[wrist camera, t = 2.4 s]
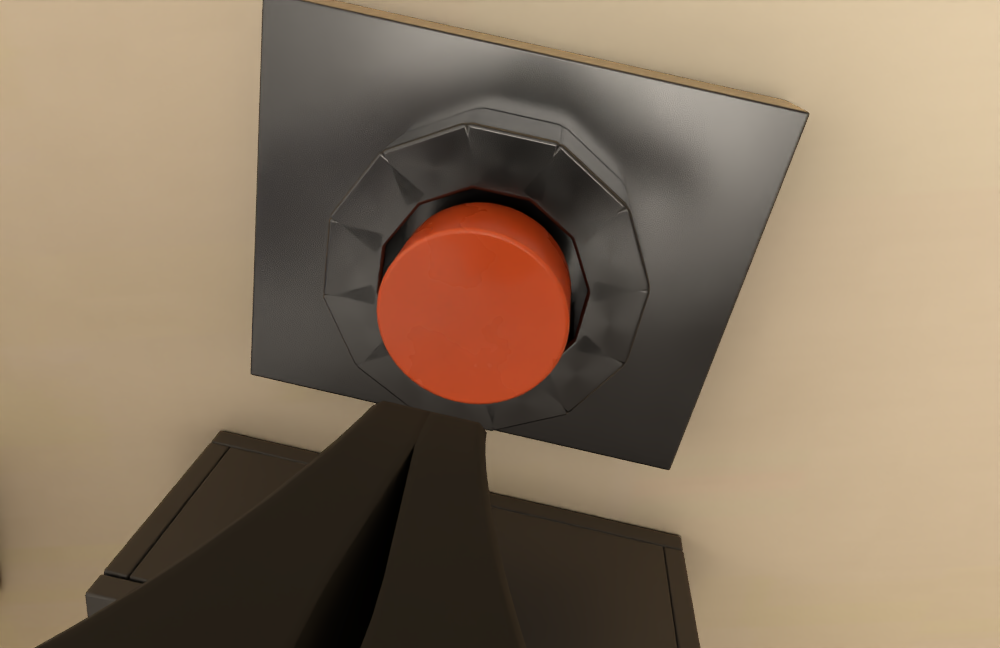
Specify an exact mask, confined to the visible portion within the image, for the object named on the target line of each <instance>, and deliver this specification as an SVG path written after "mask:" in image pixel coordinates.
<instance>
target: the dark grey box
mask: <svg viewBox="0 0 1000 648" xmlns="http://www.w3.org/2000/svg"><path fill="white" fill-rule="evenodd" d="M319 454H320V453H316V452H311V451H307V450H303V449H298V448H294V447H289V446H285V445H281V444H276V443H272V442H268V441H263V440H259V439H255V438H250V437H246V436H242V435H237V434H233V433H229V432H224V431H220V432H219V433H218V434H217V435H216V437H215V438H214V439H213V440H212V443H210V444H209V445H208V446H207V448H206V449H205V450H204V451H203V452H202V454H201V455H200V456H199V457H198V458H197V460H196V461H195V462H194V463H193V464H192V466H191V467H190V468H189V469H188V470H187V472H186V473H185V474H184V475H183V476H182V478H181V479H180V480H179V481H178V482H177V484H176V485H175V486H174V487H173V488H172V490H171V491H170V492H169V493H168V494H167V496H166V497H165V498H164V499H163V501H162V502H161V503H160V504H159V505H158V507H157V508H156V509H155V510H154V511H153V513H152V514H151V515H150V516H149V517H148V519H147V520H146V521H145V522H144V523H143V525H142V526H141V527H140V528H139V529H138V531H137V532H136V533H135V534H134V535H133V537H132V538H131V539H130V540H129V541H128V543H127V544H126V545H125V546H124V547H123V549H122V550H121V551H120V552H119V553H118V555H117V556H116V557H115V558H114V560H113V561H112V562H111V563H110V564H109V566H108V567H107V568H106V569H105V571H104V575H107V576H111V577H116V578H120V579H124V580H128V581H133V582H137V583H141V584H143V583H144V582H146V581H148V580H149V579H151V578H152V577H154V576H155V575H157V574H158V573H160V572H162V571H163V570H165V569H166V568H168V567H169V566H171V565H172V564H174V563H175V562H177V561H178V560H180V559H181V558H183V557H184V556H186V555H187V554H189V553H190V552H192V551H193V550H194V549H196V548H197V547H199V546H200V545H201V544H203V543H204V542H206V541H207V540H208V539H210V538H211V537H212V536H214V535H215V534H217V533H218V532H219V531H221V530H222V529H224V528H225V527H226V526H228V525H229V524H231V523H232V522H233V521H235V520H236V519H238V518H239V517H240V516H242V515H243V514H245V513H246V512H247V511H249V510H250V509H252V508H253V507H254V506H256V505H257V504H258V503H259V502H261V501H262V500H263V499H265V498H266V497H267V496H269V495H270V494H271V493H272V492H274V491H275V490H276V489H277V488H279V487H280V486H281V485H282V484H283V483H285V482H286V481H287V480H288V479H290V478H291V477H292V476H293V475H295V474H296V473H297V472H298V471H300V470H301V469H302V468H303V467H305V466H306V465H307V464H308V463H310V462H311V461H312V460H313V459H314V458H316V457H317V456H318V455H319ZM489 496H490V503H491V509H492V515H493V520H494V525H495V530H496V534H497V539H498V544H499V548H500V553H501V557H502V562H503V567H504V571H505V574H506V578H507V582H508V586H509V590H510V594H511V597H512V601H513V604H514V608H515V611H516V615H517V618H518V622H519V625H520V628H521V632H522V635H523V639H524V642H525V645H526V648H700V643H699V638H698V632H697V626H696V621H695V615H694V610H693V604H692V598H691V593H690V587H689V581H688V576H687V570H686V565H685V559H684V553H683V549H682V543H681V538H680V537H679V536H676V535H672V534H667V533H663V532H659V531H654V530H650V529H646V528H641V527H637V526H633V525H628V524H624V523H619V522H615V521H611V520H606V519H602V518H598V517H593V516H589V515H585V514H580V513H576V512H572V511H567V510H563V509H559V508H554V507H550V506H546V505H541V504H537V503H533V502H528V501H524V500H520V499H515V498H511V497H507V496H502V495H498V494H494V493H489Z"/></svg>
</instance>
